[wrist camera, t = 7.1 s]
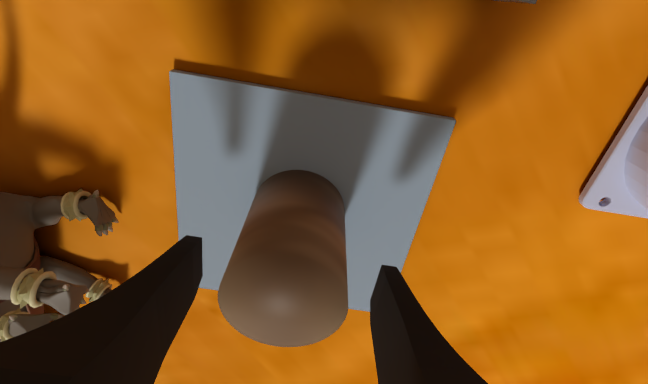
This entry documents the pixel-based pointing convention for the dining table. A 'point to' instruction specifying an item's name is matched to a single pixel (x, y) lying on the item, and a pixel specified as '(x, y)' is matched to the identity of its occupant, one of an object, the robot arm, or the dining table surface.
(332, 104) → the slate-blue mat
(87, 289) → the figurine
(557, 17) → the dining table surface
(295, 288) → the walnut cylinder
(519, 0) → the charcoal wall
